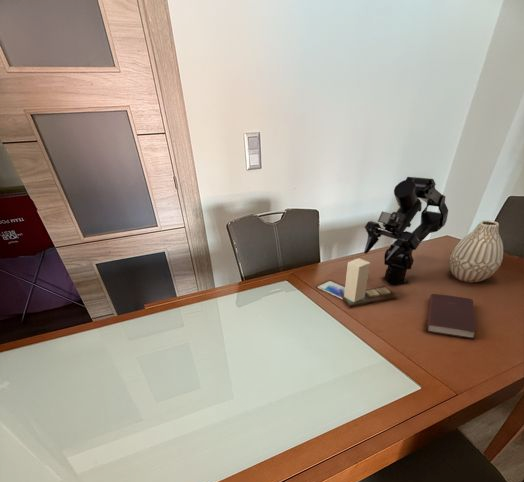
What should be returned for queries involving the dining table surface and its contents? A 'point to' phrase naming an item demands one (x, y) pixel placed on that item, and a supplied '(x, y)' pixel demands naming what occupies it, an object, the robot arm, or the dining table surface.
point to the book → (451, 316)
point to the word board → (371, 297)
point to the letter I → (356, 279)
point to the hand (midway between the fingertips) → (375, 257)
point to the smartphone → (332, 288)
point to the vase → (478, 253)
